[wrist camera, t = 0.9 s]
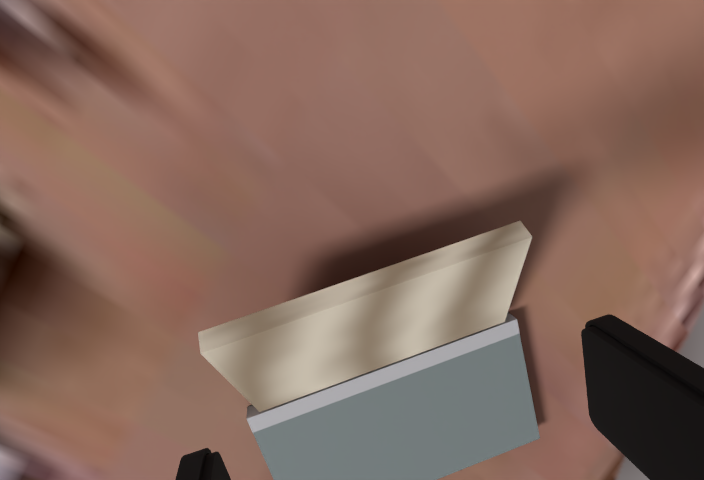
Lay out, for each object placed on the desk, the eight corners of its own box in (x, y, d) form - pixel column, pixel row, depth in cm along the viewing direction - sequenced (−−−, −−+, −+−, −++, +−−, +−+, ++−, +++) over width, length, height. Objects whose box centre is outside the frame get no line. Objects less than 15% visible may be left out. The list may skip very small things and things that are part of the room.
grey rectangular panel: (507, 311, 33) (516, 319, 32) (530, 427, 36) (540, 438, 35) (247, 406, 31) (246, 418, 30) (297, 519, 34) (298, 534, 33)
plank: (520, 220, 24) (532, 236, 23) (496, 307, 32) (504, 321, 31) (198, 332, 23) (200, 353, 22) (256, 395, 30) (259, 412, 30)
